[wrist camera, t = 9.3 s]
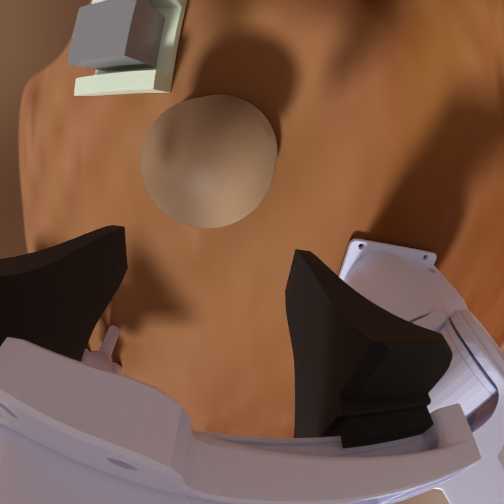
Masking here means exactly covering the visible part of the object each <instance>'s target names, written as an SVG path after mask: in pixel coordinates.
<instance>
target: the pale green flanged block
mask: <svg viewBox="0 0 504 504" xmlns="http://www.w3.org/2000/svg"><path fill="white" fill-rule="evenodd" d="M102 1H106V0H93V1H92V4H94V3H98V2H102ZM146 1H147V2H148V3H149V4H151V5H152V6H153V7H154V8H155V9H156V10H157V11H158V12H159V13H161V14H162V15H163V16H164V17H165V23H164V27H163V32H162V37H161V42H160V48H159V53H158V59H157V65H156V68H139V69H126V70H116V71H101V70H96V74H95V75H93V76H87V77H81V78H76V83H75V92H74V96H102V95H114V94H130V93H171V85H172V78H173V71H174V65H175V59H176V53H177V47H178V42H179V37H180V32H181V27H182V22H183V18H184V13H185V9H186V5H187V0H146Z"/></svg>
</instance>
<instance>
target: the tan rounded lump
mask: <svg viewBox="0 0 504 504" xmlns="http://www.w3.org/2000/svg"><path fill="white" fill-rule="evenodd" d="M276 161H277V142H276V137H275V134H274V131H273V128H272V126H271V124H270V123H269V121H268V120H267V118H266V117H265V116H264V114H263V113H262V112H261V111H260V110H259V109H257V108H256V107H255V106H254V105H252V104H251V103H249V102H247V101H245V100H243V99H241V98H238V97H234V96H229V95H208V96H204V97H199V98H192V99H189V100H185V101H183V102H180V103H178V104H176V105H174V106H172V107H171V108H169V109H168V110H167V111H165V112H164V113H163V114H162V115H161V116H160V117H159V118H158V119H157V120H156V121H155V122H154V124H153V125H152V126H151V128H150V129H149V131H148V133H147V135H146V137H145V140H144V142H143V146H142V150H141V158H140V167H141V174H142V179H143V182H144V185H145V187H146V190H147V192H148V194H149V195H150V197H151V199H152V200H153V201H154V203H155V204H156V205H157V206H158V207H159V208H160V209H161V210H162V211H163V212H164V213H165V214H167V215H168V216H169V217H171V218H173V219H174V220H176V221H178V222H180V223H183V224H186V225H189V226H193V227H198V228H217V227H223V226H226V225H229V224H232V223H235V222H237V221H239V220H241V219H242V218H244V217H246V216H247V215H248V214H250V213H251V212H252V211H253V210H254V209H255V208H256V207H257V206H258V205H259V204H260V202H261V201H262V200H263V198H264V197H265V195H266V193H267V191H268V189H269V187H270V184H271V181H272V177H273V172H274V169H275V165H276Z"/></svg>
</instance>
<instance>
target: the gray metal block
mask: <svg viewBox="0 0 504 504" xmlns="http://www.w3.org/2000/svg"><path fill="white" fill-rule="evenodd" d="M164 23H165V17H164V16H163V15H162V14H161V13H159V12H158V11H157V10H156V9H155V8H154V7H153V6H152V5H151V4H149V3H148V2H147V1H146V0H106V1H102V2H98V3H94V4H90V5H87V6H83V7H80V8H79V12H78V16H77V19H76V24H75V27H74V31H73V36H72V40H71V45H70V50H69V56H68V61H67V65H68V66H76V67H83V68H89V69H95V70H101V71H116V70H126V69H139V68H156V65H157V59H158V53H159V48H160V42H161V37H162V32H163V27H164Z"/></svg>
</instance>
